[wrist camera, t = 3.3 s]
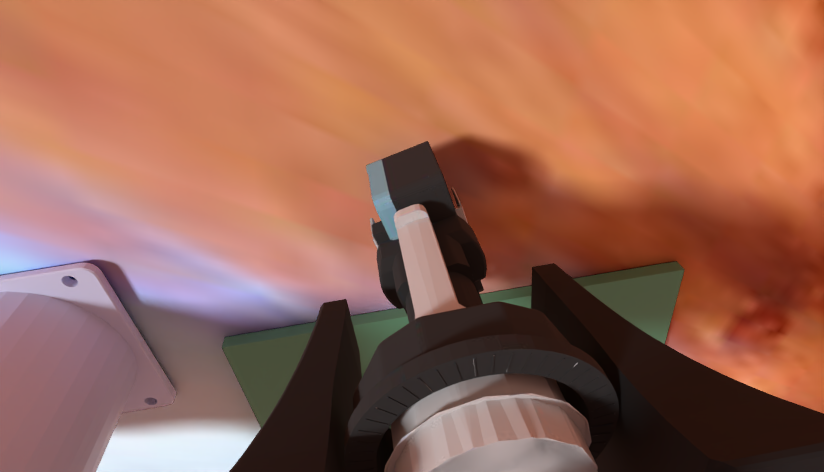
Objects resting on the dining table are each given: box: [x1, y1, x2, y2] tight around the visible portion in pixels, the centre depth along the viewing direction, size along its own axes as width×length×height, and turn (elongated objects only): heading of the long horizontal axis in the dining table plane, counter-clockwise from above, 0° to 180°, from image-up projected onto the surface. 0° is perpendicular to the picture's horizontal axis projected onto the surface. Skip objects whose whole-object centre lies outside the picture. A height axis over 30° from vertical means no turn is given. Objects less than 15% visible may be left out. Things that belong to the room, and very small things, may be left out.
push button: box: [344, 141, 619, 472], centre depth 13 cm, size 7×5×10 cm
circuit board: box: [222, 261, 684, 472], centre depth 25 cm, size 20×18×2 cm
